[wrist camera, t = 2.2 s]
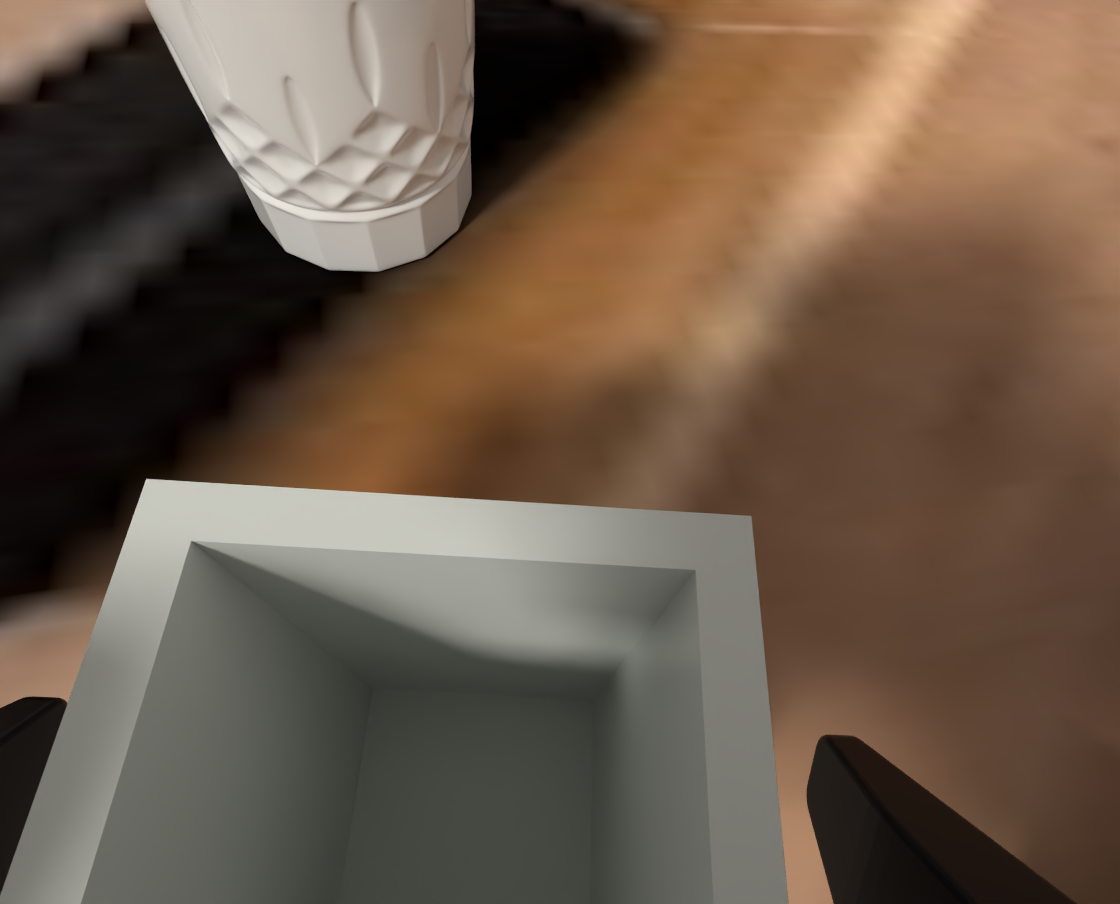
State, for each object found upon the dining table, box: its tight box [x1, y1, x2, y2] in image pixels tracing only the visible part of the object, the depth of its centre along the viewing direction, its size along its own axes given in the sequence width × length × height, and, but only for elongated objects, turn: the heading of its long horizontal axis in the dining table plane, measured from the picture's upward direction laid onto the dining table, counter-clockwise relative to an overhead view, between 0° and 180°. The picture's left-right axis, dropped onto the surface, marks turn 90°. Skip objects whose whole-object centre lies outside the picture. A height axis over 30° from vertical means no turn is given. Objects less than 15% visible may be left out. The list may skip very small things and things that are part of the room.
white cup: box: [144, 0, 475, 272], centre depth 18 cm, size 8×8×10 cm
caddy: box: [0, 479, 789, 904], centre depth 10 cm, size 6×6×10 cm
